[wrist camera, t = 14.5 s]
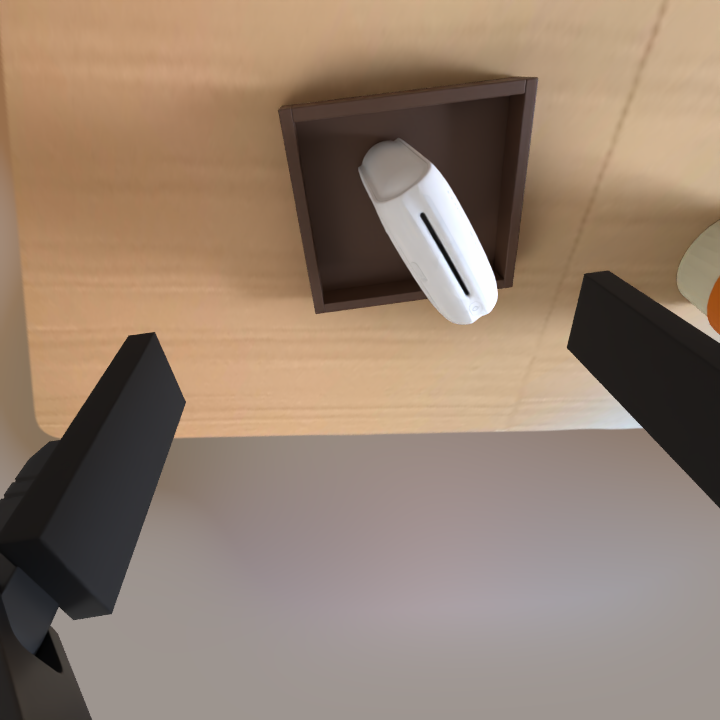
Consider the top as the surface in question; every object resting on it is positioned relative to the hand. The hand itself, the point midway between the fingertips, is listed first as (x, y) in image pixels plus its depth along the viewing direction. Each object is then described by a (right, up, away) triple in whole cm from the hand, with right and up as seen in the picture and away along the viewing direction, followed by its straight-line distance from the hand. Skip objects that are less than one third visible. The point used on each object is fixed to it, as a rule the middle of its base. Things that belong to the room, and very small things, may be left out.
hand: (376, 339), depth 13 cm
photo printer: (+3, +12, +20) cm, 23 cm away
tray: (+3, +12, +20) cm, 23 cm away
